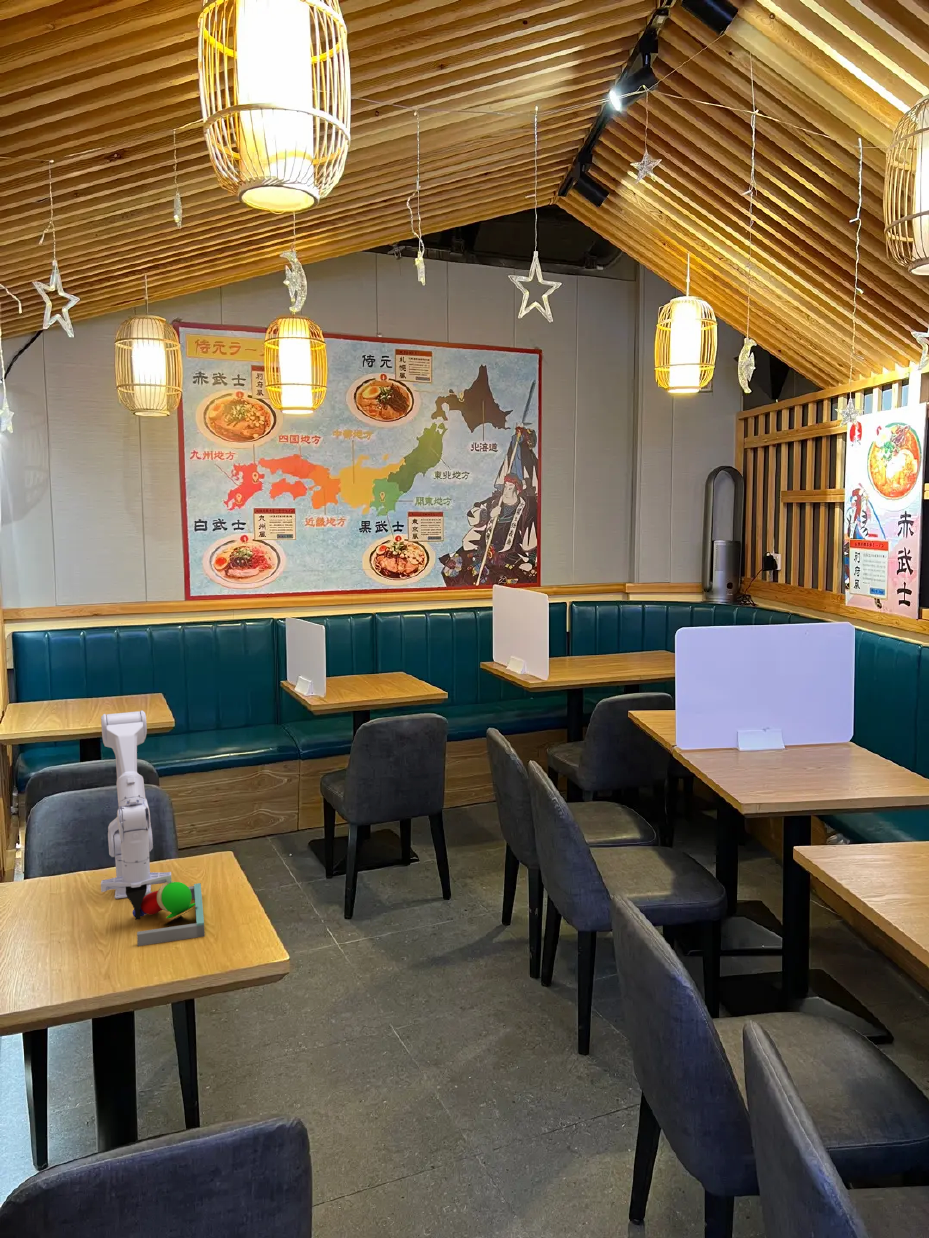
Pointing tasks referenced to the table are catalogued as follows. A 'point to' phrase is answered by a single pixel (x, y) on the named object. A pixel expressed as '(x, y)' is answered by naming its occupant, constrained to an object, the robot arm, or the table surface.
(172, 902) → the toy
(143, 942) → the bay
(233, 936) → the table surface
